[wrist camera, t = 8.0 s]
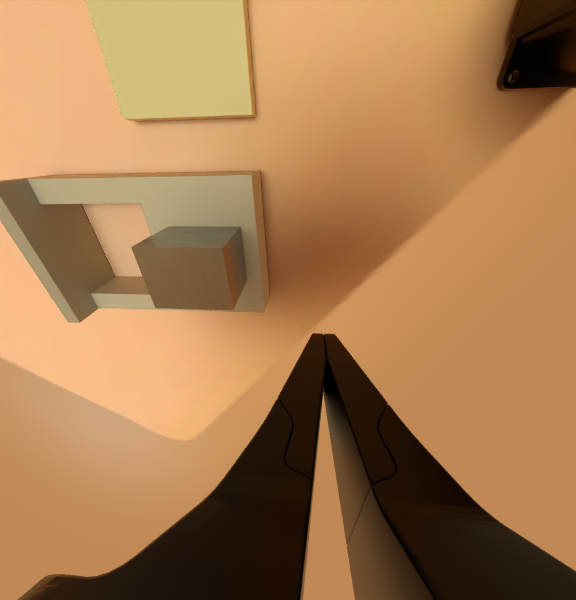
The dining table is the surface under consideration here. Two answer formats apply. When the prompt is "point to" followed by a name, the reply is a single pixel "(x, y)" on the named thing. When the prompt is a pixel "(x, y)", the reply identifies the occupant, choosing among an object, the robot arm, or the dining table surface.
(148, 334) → the dining table surface
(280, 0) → the dining table surface
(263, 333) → the dining table surface
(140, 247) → the block
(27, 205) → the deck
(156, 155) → the dining table surface
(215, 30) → the pad
